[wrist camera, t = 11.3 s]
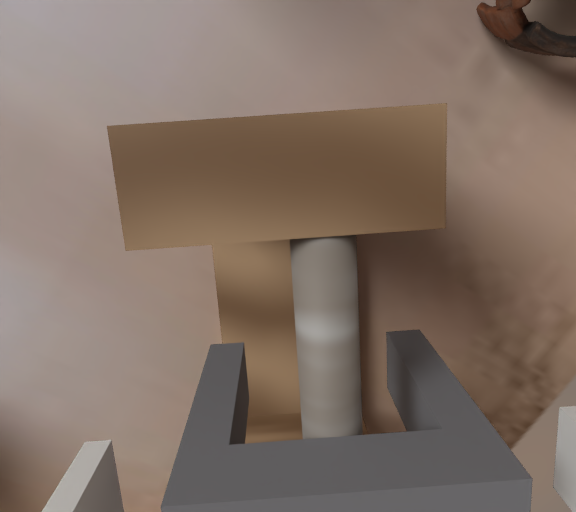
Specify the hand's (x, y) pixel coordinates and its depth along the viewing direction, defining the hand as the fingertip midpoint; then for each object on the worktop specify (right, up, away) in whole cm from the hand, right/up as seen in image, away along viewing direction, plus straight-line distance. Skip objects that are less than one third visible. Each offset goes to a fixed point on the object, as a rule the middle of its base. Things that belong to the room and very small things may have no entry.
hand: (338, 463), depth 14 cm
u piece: (0, +1, +6) cm, 7 cm away
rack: (-1, +4, +15) cm, 16 cm away
